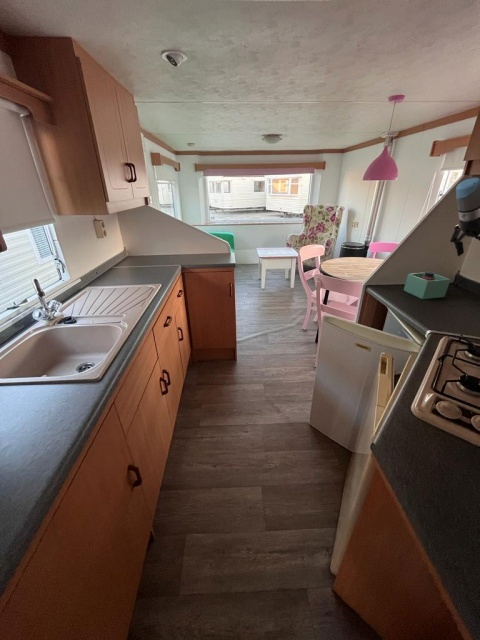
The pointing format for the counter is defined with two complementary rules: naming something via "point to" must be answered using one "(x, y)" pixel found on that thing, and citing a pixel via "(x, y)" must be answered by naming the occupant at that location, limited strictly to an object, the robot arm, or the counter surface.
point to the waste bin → (426, 286)
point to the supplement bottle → (428, 276)
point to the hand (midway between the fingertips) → (475, 257)
